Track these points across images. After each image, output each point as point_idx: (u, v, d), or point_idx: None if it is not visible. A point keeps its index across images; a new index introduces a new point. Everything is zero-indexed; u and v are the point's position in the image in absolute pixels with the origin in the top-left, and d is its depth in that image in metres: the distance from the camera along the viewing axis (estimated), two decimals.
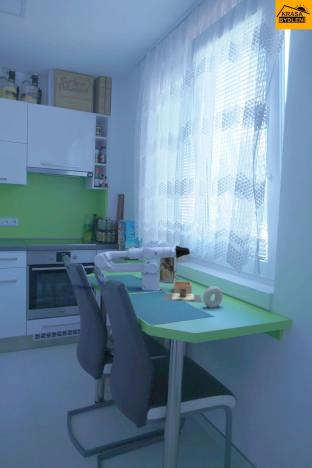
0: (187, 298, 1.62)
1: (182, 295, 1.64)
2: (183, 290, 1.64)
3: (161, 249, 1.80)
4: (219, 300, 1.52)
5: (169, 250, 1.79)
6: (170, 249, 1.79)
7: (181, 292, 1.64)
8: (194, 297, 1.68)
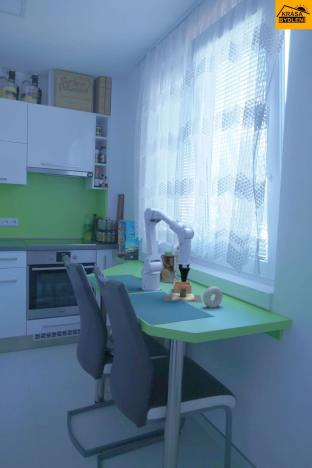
0: (187, 298, 1.62)
1: (182, 295, 1.64)
2: (183, 290, 1.64)
3: (184, 250, 1.62)
4: (219, 300, 1.52)
5: (186, 259, 1.62)
6: (187, 260, 1.62)
7: (181, 292, 1.64)
8: (194, 297, 1.68)
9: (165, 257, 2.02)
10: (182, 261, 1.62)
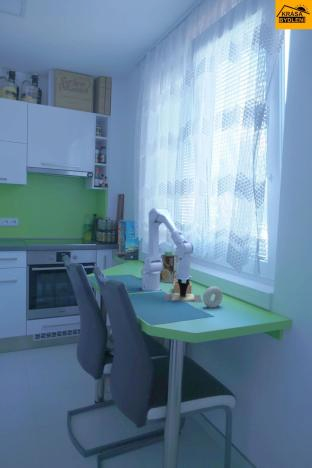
0: (187, 298, 1.62)
1: None
2: None
3: (183, 265, 1.62)
4: (219, 300, 1.52)
5: (186, 274, 1.62)
6: (187, 275, 1.63)
7: None
8: (194, 297, 1.68)
9: (165, 257, 2.02)
10: (181, 276, 1.63)
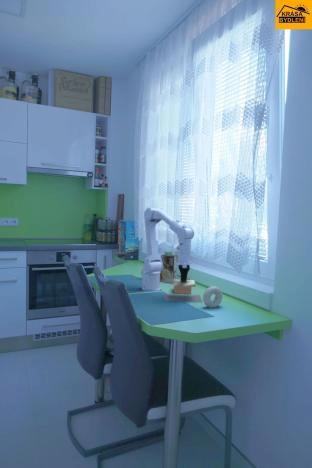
0: (188, 283, 1.62)
1: (183, 281, 1.64)
2: None
3: (184, 250, 1.62)
4: (219, 300, 1.52)
5: (186, 259, 1.62)
6: (187, 260, 1.62)
7: None
8: (194, 297, 1.68)
9: (165, 257, 2.02)
10: (182, 261, 1.62)
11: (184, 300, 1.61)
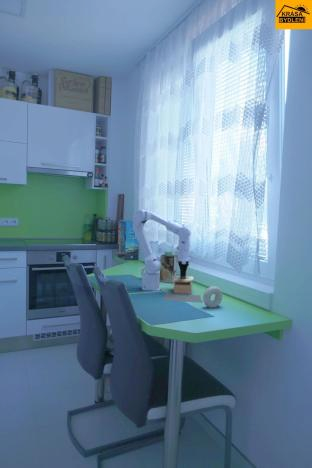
0: (187, 279, 1.75)
1: (182, 277, 1.77)
2: None
3: (186, 248, 1.75)
4: (219, 300, 1.52)
5: (186, 256, 1.75)
6: (186, 257, 1.75)
7: None
8: (194, 297, 1.68)
9: (165, 257, 2.02)
10: (181, 258, 1.75)
11: (184, 300, 1.61)
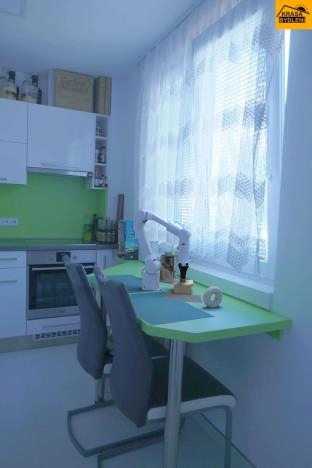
0: (186, 283, 1.75)
1: (182, 280, 1.77)
2: None
3: (186, 250, 1.75)
4: (219, 300, 1.52)
5: (185, 258, 1.75)
6: (186, 259, 1.75)
7: None
8: (194, 297, 1.68)
9: (165, 257, 2.02)
10: (181, 260, 1.75)
11: (184, 300, 1.61)
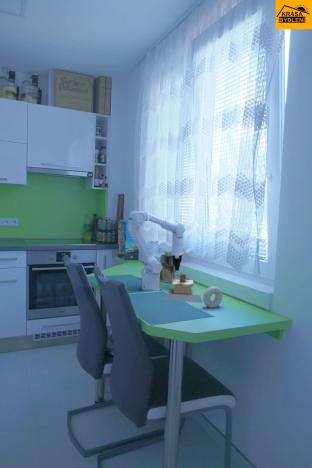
0: (186, 283, 1.75)
1: (182, 280, 1.77)
2: (183, 276, 1.77)
3: (182, 243, 1.87)
4: (219, 300, 1.52)
5: (179, 251, 1.86)
6: (180, 252, 1.86)
7: (181, 278, 1.77)
8: (194, 297, 1.68)
9: (165, 257, 2.02)
10: (175, 252, 1.86)
11: (184, 300, 1.61)
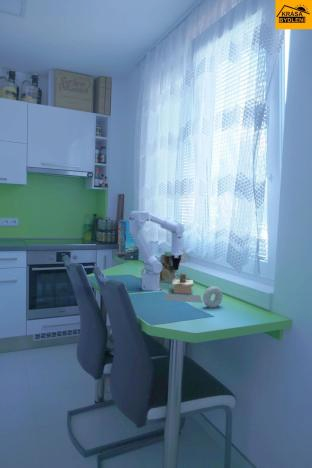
0: (186, 283, 1.75)
1: (182, 280, 1.77)
2: (183, 276, 1.77)
3: (181, 243, 1.88)
4: (219, 300, 1.52)
5: (178, 250, 1.87)
6: (179, 251, 1.87)
7: (181, 278, 1.77)
8: (194, 297, 1.68)
9: (165, 257, 2.02)
10: (174, 252, 1.87)
11: (184, 300, 1.61)
